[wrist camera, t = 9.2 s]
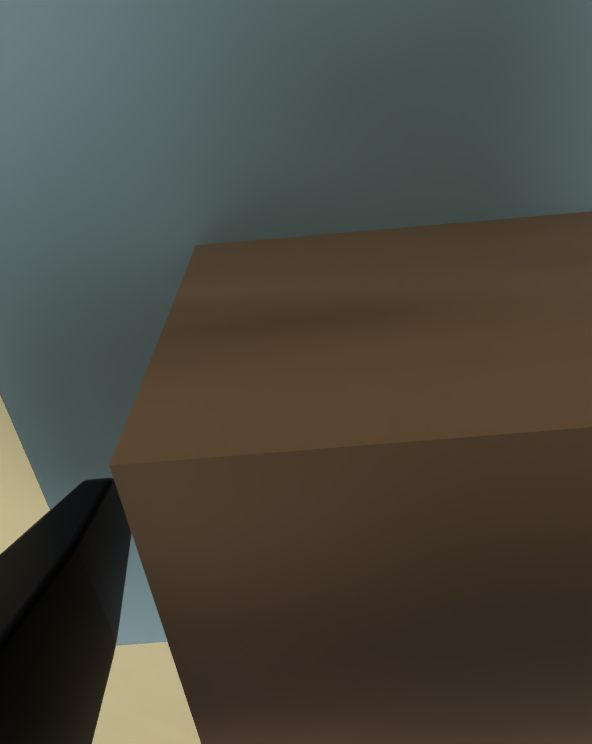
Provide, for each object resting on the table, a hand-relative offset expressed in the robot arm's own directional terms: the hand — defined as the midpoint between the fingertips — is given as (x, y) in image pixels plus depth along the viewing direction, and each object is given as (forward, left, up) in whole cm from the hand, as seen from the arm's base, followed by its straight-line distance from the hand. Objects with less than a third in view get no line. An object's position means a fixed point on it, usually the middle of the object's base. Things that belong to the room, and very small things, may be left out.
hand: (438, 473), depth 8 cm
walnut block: (0, 0, -2) cm, 2 cm away
